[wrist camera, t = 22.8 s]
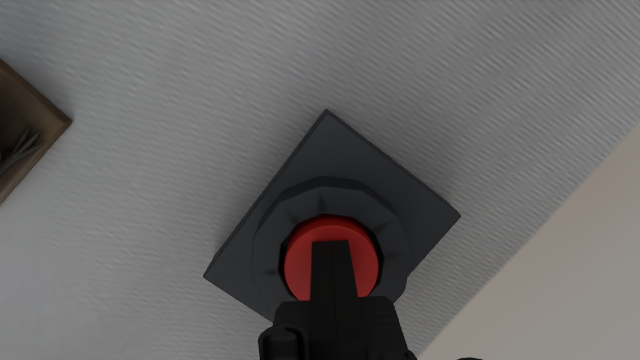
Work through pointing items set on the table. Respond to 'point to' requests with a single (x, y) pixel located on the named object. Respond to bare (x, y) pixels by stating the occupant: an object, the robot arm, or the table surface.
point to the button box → (337, 199)
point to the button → (329, 230)
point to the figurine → (24, 128)
